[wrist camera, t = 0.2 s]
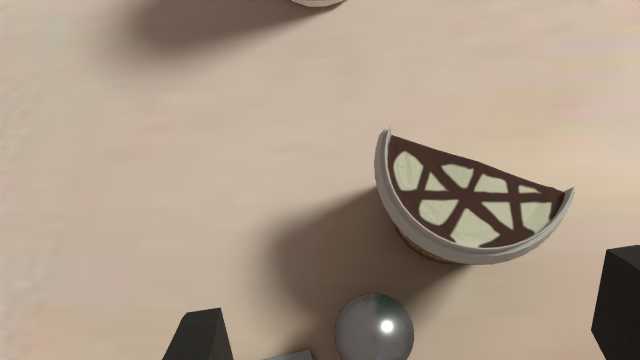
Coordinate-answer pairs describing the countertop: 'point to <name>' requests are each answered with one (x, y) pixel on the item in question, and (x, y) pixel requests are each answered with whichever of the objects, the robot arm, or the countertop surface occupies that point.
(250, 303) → the countertop surface
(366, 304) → the metal canister
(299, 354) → the mat
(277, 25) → the countertop surface
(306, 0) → the supplement can
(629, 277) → the robot arm
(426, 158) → the food container
